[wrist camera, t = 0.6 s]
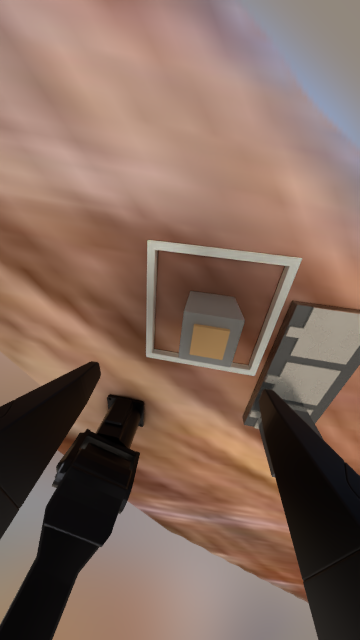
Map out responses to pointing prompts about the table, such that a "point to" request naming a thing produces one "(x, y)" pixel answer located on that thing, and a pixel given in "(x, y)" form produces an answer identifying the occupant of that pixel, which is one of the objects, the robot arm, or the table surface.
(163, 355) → the white square frame
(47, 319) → the table surface
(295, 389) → the strip
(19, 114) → the table surface
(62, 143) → the table surface
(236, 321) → the plug
